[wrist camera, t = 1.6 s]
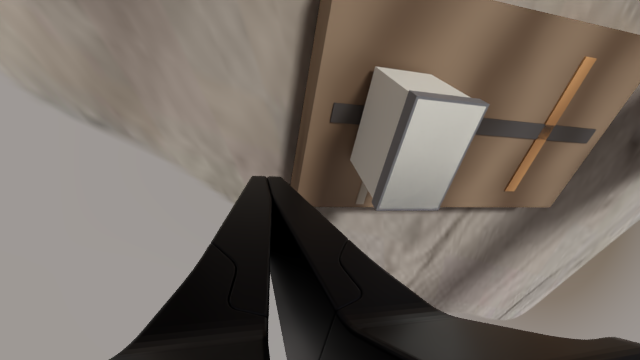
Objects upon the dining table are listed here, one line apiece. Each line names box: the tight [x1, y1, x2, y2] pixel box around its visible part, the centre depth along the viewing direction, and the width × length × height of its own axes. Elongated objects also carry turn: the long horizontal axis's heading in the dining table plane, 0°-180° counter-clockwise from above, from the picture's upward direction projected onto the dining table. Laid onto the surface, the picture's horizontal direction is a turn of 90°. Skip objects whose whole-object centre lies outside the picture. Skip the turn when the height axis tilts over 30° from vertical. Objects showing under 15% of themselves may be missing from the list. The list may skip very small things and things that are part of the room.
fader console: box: [290, 0, 640, 207], centre depth 19 cm, size 20×12×2 cm, turn 79°
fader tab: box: [350, 66, 490, 211], centre depth 15 cm, size 3×5×4 cm, turn 169°
